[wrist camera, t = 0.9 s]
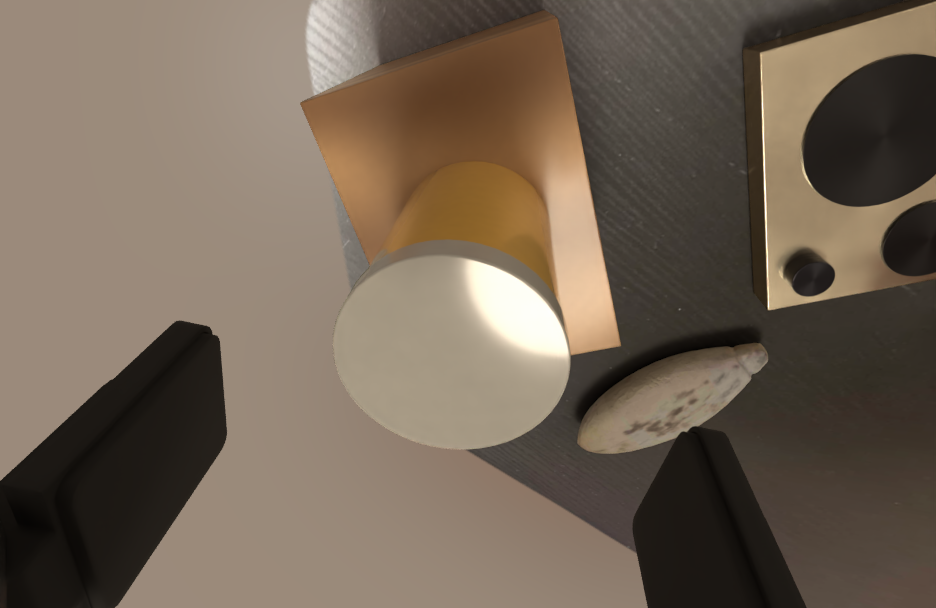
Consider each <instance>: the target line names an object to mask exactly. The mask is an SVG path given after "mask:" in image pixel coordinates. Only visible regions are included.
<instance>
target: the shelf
mask: <svg viewBox="0 0 936 608" xmlns="http://www.w3.org/2000/svg"><path fill="white" fill-rule="evenodd" d="M300 104H301V107H302V109H303V111H304V113H305V116H306V118H307V120H308V123H309V125H310V127H311V130H312V132H313V134H314V137H315V138H316V141H317V144H318V146H319V148H320V151H321V153H322V155H323V158H324V160H325V162H326V165H327V167H328V169H329V172H330V174H331V176H332V178H333V181H334V183H335V185H336V188H337V190H338V192H339V195H340V197H341V199H342V202H343V204H344V206H345V209H346V211H347V213H348V216H349V218H350V220H351V223H352V225H353V227H354V230H355V232H356V234H357V237H358V239H359V241H360V243H361V246H362V248H363V250H364V253H365V255H366V257H367V260H368V262H369V264H371V263H372V261H373V259H374V257H375V256H376V254H377V252H378V251H379V249H380V247H381V245H382V244H383V242H384V240H385V238H386V237H387V235H388V233H389V231H390V230H391V228H392V226H393V225H394V223H395V221H396V219H397V218H398V216H399V214H400V212H401V211H402V209H403V207H404V205H405V204H406V202H407V200H408V199H409V197H410V195H411V193H412V192H413V191H414V189H415V188H416V187H417V186H418V184H419V183H421V182H422V181H423V180H424V179H425V178H426V177H427V176H429V175H430V174H432V173H433V172H435V171H437V170H439V169H441V168H443V167H445V166H448V165H451V164H455V163H459V162H467V161H481V162H488V163H494V164H497V165H500V166H503V167H506V168H508V169H510V170H512V171H514V172H515V173H517V174H518V175H520V176H522V177H523V178H524V179H525V180H526V181H528V182H529V183H530V184H531V185H532V186H533V187H534V189H535V190H536V191H537V192H538V193H539V195H540V196H541V198H542V200H543V201H544V203H545V206H546V208H547V210H548V213H549V216H550V220H551V227H552V234H553V243H554V251H555V260H556V268H557V276H558V285H559V293H560V301H561V309H562V311H563V314H564V317H565V320H566V325H567V331H568V338H569V345H570V355H574V354H580V353H585V352H590V351H596V350H601V349H607V348H612V347H617V346H621V343H620V338H619V333H618V327H617V322H616V317H615V312H614V307H613V302H612V296H611V291H610V286H609V281H608V276H607V271H606V265H605V260H604V255H603V250H602V245H601V240H600V234H599V229H598V224H597V219H596V214H595V209H594V203H593V198H592V193H591V188H590V183H589V177H588V172H587V167H586V162H585V157H584V152H583V146H582V141H581V136H580V131H579V126H578V121H577V115H576V110H575V105H574V100H573V95H572V90H571V84H570V79H569V74H568V69H567V64H566V59H565V53H564V48H563V43H562V38H561V33H560V28H559V22H558V18H557V17H555V16H554V15H552V14H550V13H549V12H547V11H545V10H542V11H539V12H536V13H533V14H530V15H527V16H524V17H521V18H518V19H515V20H512V21H509V22H506V23H503V24H501V25H498V26H495V27H492V28H489V29H486V30H483V31H480V32H477V33H474V34H471V35H468V36H465V37H462V38H459V39H456V40H453V41H450V42H447V43H444V44H441V45H438V46H435V47H432V48H429V49H426V50H423V51H420V52H418V53H415V54H412V55H409V56H406V57H403V58H400V59H397V60H394V61H391V62H388V63H385V64H382V65H379V66H377V67H375V68H373V69H371V70H369V71H367V72H364V73H362V74H360V75H358V76H356V77H354V78H352V79H349V80H347V81H345V82H343V83H341V84H339V85H337V86H334V87H332V88H330V89H328V90H326V91H324V92H322V93H319V94H317V95H315V96H313V97H311V98H309V99H307V100H305V101H303V102H301V103H300Z"/></svg>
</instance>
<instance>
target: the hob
mask: <svg viewBox="0 0 936 608" xmlns="http://www.w3.org/2000/svg"><path fill="white" fill-rule="evenodd" d="M743 69H744V91H745V113H746V135H747V157H748V179H749V201H750V223H751V245H752V267H753V289H754V294H755V295H756V296H757V297H758V299H759V300H760V301H761V303H762V304H763V305H764V306H765V308H766V309H767V310H774V309H780V308H785V307H790V306H796V305H801V304H806V303H812V302H817V301H822V300H827V299H833V298H838V297H843V296H849V295H854V294H859V293H865V292H870V291H875V290H881V289H886V288H891V287H896V286H902V285H907V284H912V283H918V282H923V281H928V280H934V279H936V0H906V1H903V2H899V3H896V4H893V5H889V6H886V7H882V8H879V9H876V10H872V11H869V12H865V13H862V14H859V15H855V16H852V17H848V18H845V19H842V20H838V21H835V22H831V23H828V24H825V25H821V26H818V27H815V28H811V29H808V30H804V31H801V32H798V33H794V34H791V35H787V36H784V37H781V38H777V39H774V40H770V41H767V42H764V43H760V44H757V45H754V46H750V47H747V48H744V49H743Z"/></svg>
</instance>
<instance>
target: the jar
mask: <svg viewBox="0 0 936 608" xmlns="http://www.w3.org/2000/svg"><path fill="white" fill-rule="evenodd" d="M333 354H334V361H335V364H336V368H337V372H338V374H339V376H340V378H341V381H342V383H343V385H344V387H345V388H346V390H347V392H348V393H349V395H350V396H351V397H352V399H353V400H354V401H355V403H356V404H357V405H358V406H359V407H360V408H361V409H362V410H363V411H364V412H365V413H366V414H367V415H368V416H370V417H371V418H372V419H373V420H374V421H376V422H377V423H379V424H380V425H382V426H383V427H385V428H386V429H388V430H389V431H391V432H393V433H395V434H397V435H399V436H401V437H404V438H406V439H409V440H411V441H414V442H417V443H421V444H424V445H428V446H433V447H438V448H446V449H477V448H485V447H489V446H494V445H498V444H501V443H504V442H508V441H510V440H512V439H515V438H517V437H519V436H521V435H523V434H525V433H526V432H528V431H530V430H531V429H533V428H534V427H535V426H537V425H538V424H539V423H540V422H542V421H543V420H544V419H545V418H546V417H547V416H548V415H549V414H550V413H551V411H552V410H553V409H554V407H555V406H556V404H557V403H558V402H559V400H560V398H561V396H562V394H563V392H564V390H565V387H566V384H567V381H568V378H569V372H570V366H571V363H570V345H569V338H568V331H567V325H566V320H565V317H564V314H563V311H562V309H561V301H560V293H559V285H558V276H557V268H556V260H555V251H554V243H553V234H552V227H551V220H550V216H549V213H548V210H547V208H546V206H545V203H544V201H543V200H542V198H541V196H540V195H539V193H538V192H537V191H536V190H535V189H534V187H533V186H532V185H531V184H530V183H529V182H528V181H526V180H525V179H524V178H523V177H522V176H520V175H518V174H517V173H515V172H514V171H512V170H510V169H508V168H506V167H503V166H500V165H497V164H494V163H488V162H481V161H467V162H459V163H455V164H451V165H448V166H445V167H443V168H441V169H439V170H437V171H435V172H433V173H432V174H430V175H429V176H427V177H426V178H425V179H424V180H423V181H422V182H421V183H419V184H418V186H417V187H416V188H415V189H414V191H413V192H412V193H411V195H410V197H409V199H408V200H407V202H406V204H405V205H404V207H403V209H402V211H401V212H400V214H399V216H398V218H397V219H396V221H395V223H394V225H393V226H392V228H391V230H390V231H389V233H388V235H387V237H386V238H385V240H384V242H383V244H382V245H381V247H380V249H379V251H378V252H377V254H376V256H375V257H374V259H373V261H372V263H371V264H370V266H369V268H368V269H367V270H366V271H365V272H364V273H363V274H362V276H361V277H360V278H359V279H358V281H357V282H356V283H355V285H354V287H353V288H352V290H351V292H350V293H349V295H348V297H347V299H346V300H345V302H344V304H343V305H342V307H341V309H340V311H339V314H338V317H337V319H336V323H335V328H334V332H333Z"/></svg>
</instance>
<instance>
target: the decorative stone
mask: <svg viewBox="0 0 936 608" xmlns="http://www.w3.org/2000/svg"><path fill="white" fill-rule="evenodd" d="M767 361H768V354H767V352H766V350H765V348H764V347H763V346H762V345H761V344H759V343H750V344H742V345H738V346H735V347H733V348H731V347H727V346H723V347H714V348H706V349H701V350H696V351H689V352H685V353H681V354H677V355H674V356H670V357H667V358H665V359H662V360H659V361H657V362H654V363H652V364H650V365H648V366H646V367H644V368H642V369H640V370H638V371H636V372H634V373H633V374H631V375H629V376H627V377H626V378H624V379H623V380H621V381H620V382H619V383H617V384H616V385H614V386H613V387H611V388H610V389H609V390H608V391H606V392H605V393H604V394H603V395H602V396H601V397H599V398H598V399H597V401H596V402H595V403H594V404H593V405H592V406H591V407H590V408H589V410H588V411H587V413H586V414H585V416H584V418H583V420H582V422H581V425H580V428H579V431H578V441H577V444H578V445H580V446H581V447H582V448H583V449H585V450H587V451H590V452H595V453H610V454H612V453H621V452H629V451H634V450H638V449H642V448H645V447H650V446H653V445H656V444H659V443H662V442H666V441H668V440H671V439H674V438H676V437H678V435H679V434H680V433H681V432H682V431H685V432H687V431H688V430H689V429H690V428H691V427H693V426H699V425H701V424H702V423H703V422H705V421H707V420H708V419H709V418H711V417H712V416H714V415H715V414H716V413H718V412H719V411H720V410H721V409H722V408H724V407H725V406H726V405H727V404H728V403H729V402H730V401H731V400H732V399H733V398H734V397H735V396H736V395H737V394H738V393H739V392H740V391H741V390H742V389H743V388H744V387H745V386H746V384H747V383H748V382H749V381H750V380H751V375H752V374H754V373H757V372H759V371H760V369H761V368H762V367H763V366H764V365H765V364H766V363H767Z"/></svg>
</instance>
